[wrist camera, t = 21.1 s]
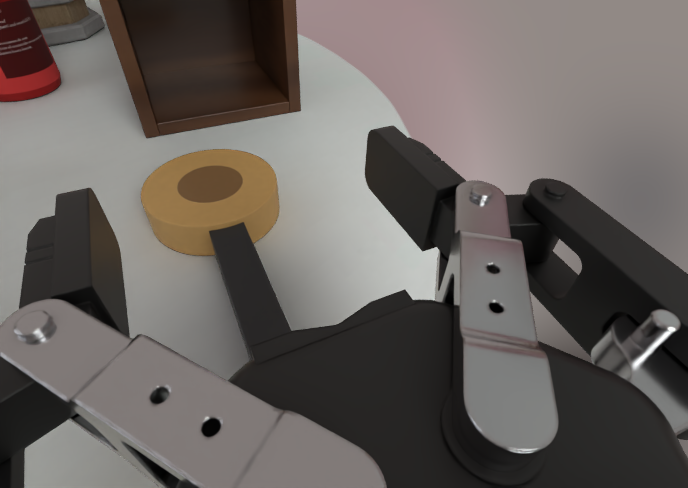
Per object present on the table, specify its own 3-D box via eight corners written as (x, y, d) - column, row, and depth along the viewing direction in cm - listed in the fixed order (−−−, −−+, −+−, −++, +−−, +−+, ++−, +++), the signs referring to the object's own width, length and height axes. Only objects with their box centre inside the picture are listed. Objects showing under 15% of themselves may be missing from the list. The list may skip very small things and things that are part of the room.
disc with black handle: (145, 192, 31) (134, 163, 29) (259, 167, 34) (255, 139, 32) (195, 450, 18) (180, 426, 16) (374, 373, 21) (379, 346, 19)
